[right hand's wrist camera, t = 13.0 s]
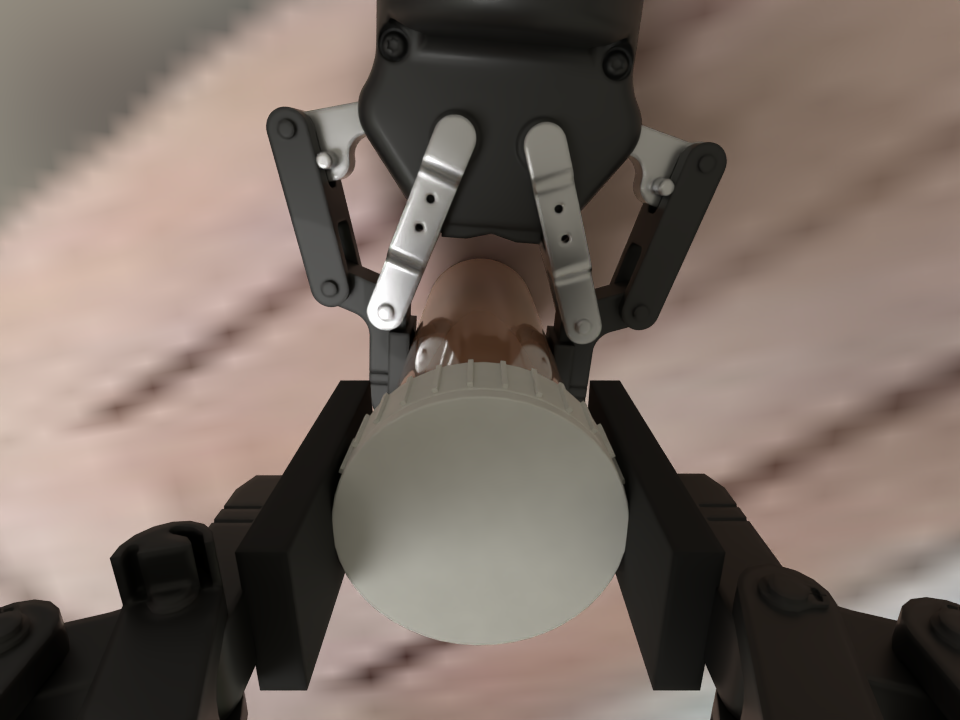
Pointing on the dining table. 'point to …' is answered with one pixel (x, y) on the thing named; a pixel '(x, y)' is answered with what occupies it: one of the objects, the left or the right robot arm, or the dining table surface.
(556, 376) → the jar
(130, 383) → the dining table surface
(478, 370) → the lid
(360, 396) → the right robot arm
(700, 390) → the dining table surface
